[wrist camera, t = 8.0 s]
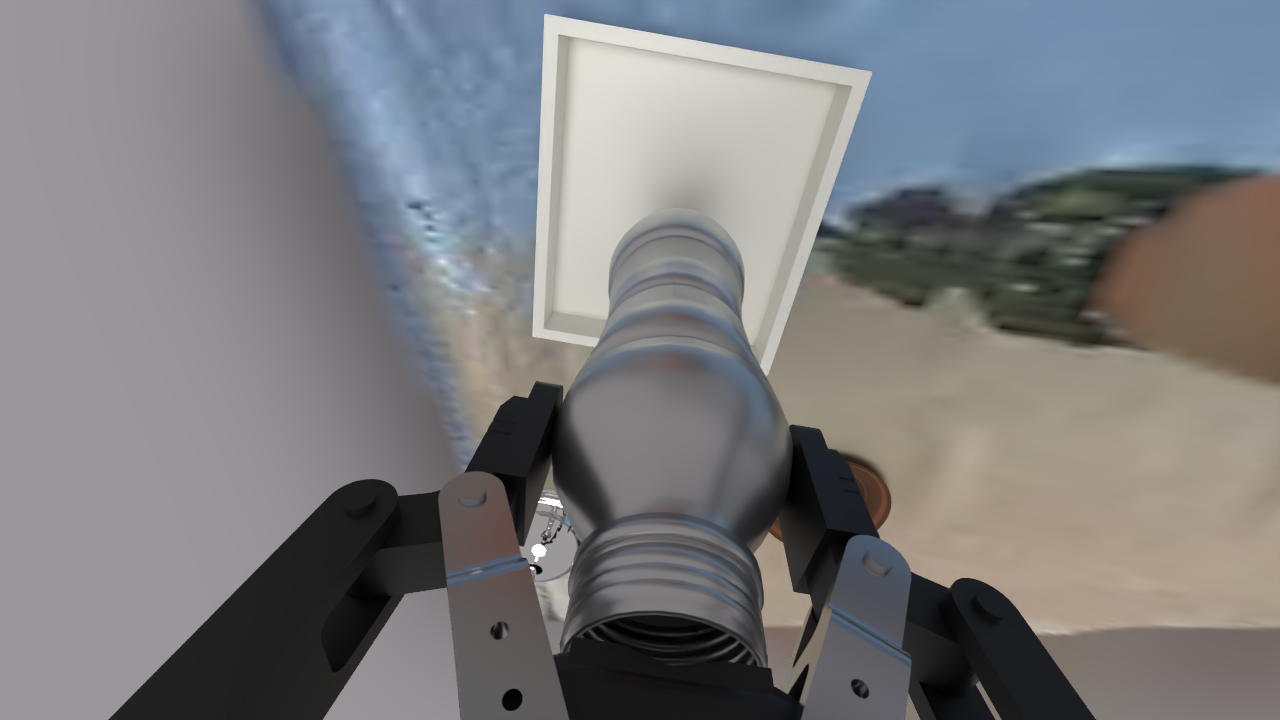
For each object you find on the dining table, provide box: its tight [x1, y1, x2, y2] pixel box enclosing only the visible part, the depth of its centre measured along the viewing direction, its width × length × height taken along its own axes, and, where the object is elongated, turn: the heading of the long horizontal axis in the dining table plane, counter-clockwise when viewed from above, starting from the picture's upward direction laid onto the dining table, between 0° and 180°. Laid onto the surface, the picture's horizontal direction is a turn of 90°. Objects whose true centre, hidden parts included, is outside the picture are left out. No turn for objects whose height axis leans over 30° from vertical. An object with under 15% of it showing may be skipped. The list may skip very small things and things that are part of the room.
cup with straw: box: [519, 464, 581, 582], centre depth 39 cm, size 8×9×20 cm
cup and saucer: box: [769, 461, 891, 542], centre depth 46 cm, size 12×12×6 cm
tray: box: [532, 14, 872, 376], centre depth 33 cm, size 20×18×4 cm
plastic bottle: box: [551, 208, 793, 668], centre depth 17 cm, size 6×7×20 cm
